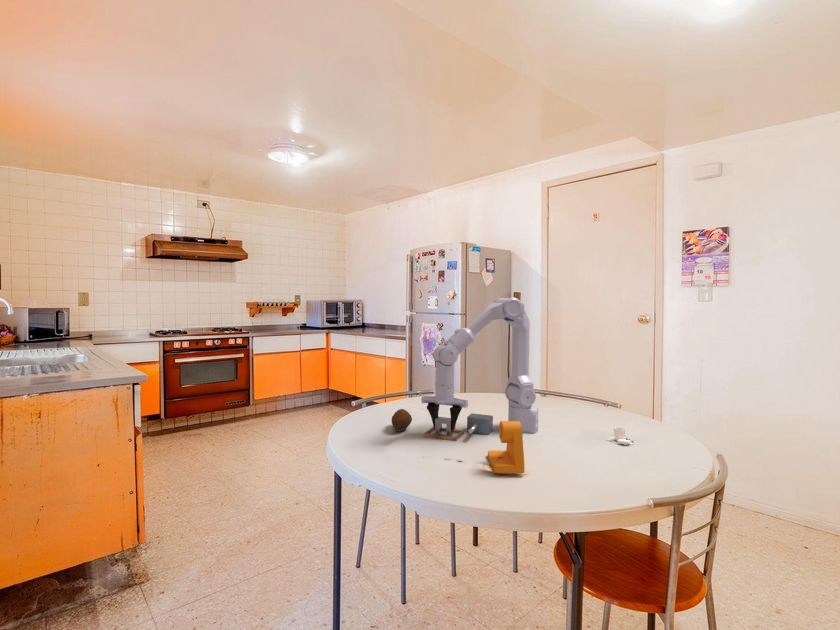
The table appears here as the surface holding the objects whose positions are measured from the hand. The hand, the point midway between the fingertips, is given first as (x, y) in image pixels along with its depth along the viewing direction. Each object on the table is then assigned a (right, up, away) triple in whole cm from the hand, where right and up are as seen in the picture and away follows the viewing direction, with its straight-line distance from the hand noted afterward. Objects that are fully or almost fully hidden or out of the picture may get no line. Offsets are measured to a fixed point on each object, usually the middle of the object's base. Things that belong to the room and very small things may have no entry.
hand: (444, 428), depth 134 cm
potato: (-13, -3, +10) cm, 17 cm away
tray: (0, -3, 0) cm, 3 cm away
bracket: (+14, -4, -23) cm, 27 cm away
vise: (+10, -3, +1) cm, 11 cm away
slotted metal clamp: (0, -2, 0) cm, 2 cm away
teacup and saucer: (+51, -5, -1) cm, 51 cm away
